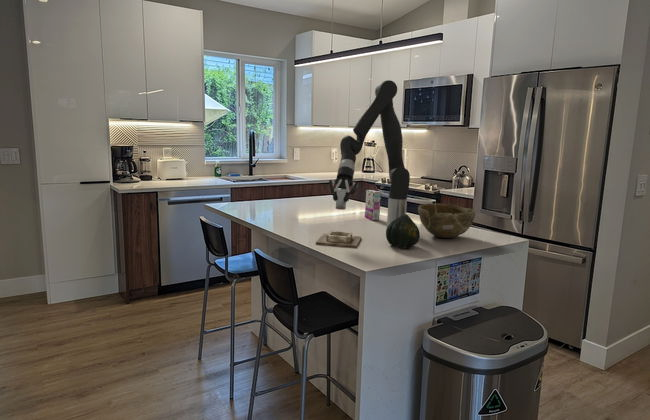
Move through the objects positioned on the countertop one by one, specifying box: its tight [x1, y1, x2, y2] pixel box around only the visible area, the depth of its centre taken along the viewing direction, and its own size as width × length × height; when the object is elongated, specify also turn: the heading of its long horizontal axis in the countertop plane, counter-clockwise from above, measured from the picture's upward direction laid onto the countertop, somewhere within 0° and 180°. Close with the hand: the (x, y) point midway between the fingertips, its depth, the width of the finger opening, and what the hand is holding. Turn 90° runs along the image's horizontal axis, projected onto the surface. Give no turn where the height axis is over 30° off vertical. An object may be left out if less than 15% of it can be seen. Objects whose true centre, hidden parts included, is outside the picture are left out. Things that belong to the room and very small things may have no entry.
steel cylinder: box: [335, 188, 347, 211], centre depth 200 cm, size 4×4×9 cm
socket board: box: [315, 230, 362, 249], centre depth 204 cm, size 18×18×4 cm
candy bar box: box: [364, 189, 382, 221], centre depth 260 cm, size 11×5×16 cm, turn 17°
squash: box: [385, 213, 421, 250], centre depth 199 cm, size 14×15×15 cm
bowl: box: [417, 203, 475, 239], centre depth 220 cm, size 28×27×15 cm
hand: (340, 200), depth 199 cm, fingers closed on steel cylinder, 4 cm apart
